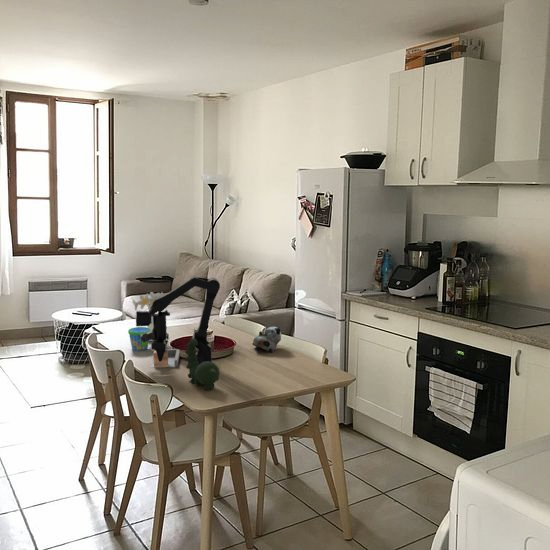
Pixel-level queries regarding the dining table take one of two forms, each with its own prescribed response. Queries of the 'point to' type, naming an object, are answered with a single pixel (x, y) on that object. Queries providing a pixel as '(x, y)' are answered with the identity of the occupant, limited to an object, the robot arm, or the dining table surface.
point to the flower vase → (147, 301)
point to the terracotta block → (164, 359)
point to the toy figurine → (200, 368)
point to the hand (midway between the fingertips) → (160, 359)
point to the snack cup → (138, 338)
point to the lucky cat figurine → (268, 339)
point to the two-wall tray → (170, 358)
